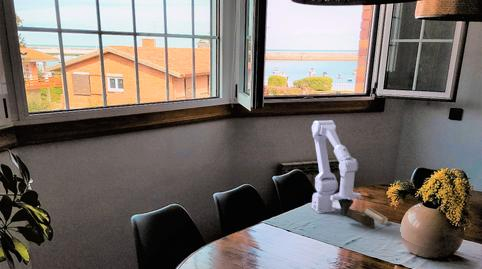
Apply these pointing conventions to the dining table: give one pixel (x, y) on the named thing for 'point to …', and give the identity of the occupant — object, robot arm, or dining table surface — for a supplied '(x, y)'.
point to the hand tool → (361, 218)
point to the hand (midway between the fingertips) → (344, 214)
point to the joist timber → (376, 216)
